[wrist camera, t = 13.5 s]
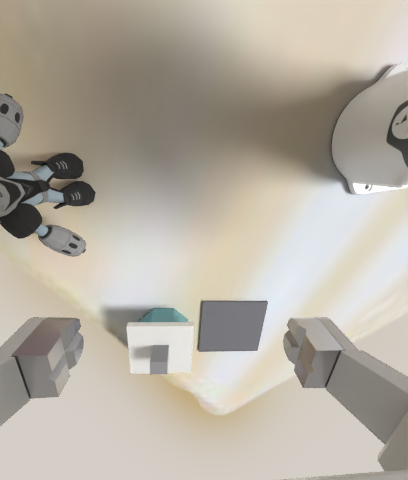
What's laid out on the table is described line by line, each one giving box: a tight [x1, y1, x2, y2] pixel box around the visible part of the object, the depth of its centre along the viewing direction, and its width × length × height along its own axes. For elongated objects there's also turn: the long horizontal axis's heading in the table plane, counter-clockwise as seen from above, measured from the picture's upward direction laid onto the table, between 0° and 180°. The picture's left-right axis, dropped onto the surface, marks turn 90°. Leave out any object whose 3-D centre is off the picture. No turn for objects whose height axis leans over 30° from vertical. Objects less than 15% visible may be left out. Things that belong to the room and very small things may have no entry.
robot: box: [0, 94, 95, 257], centre depth 23 cm, size 20×5×20 cm, turn 12°
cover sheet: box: [126, 322, 194, 374], centre depth 38 cm, size 12×12×4 cm
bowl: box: [140, 308, 188, 322], centre depth 42 cm, size 10×10×5 cm
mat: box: [199, 301, 268, 352], centre depth 46 cm, size 14×14×1 cm
